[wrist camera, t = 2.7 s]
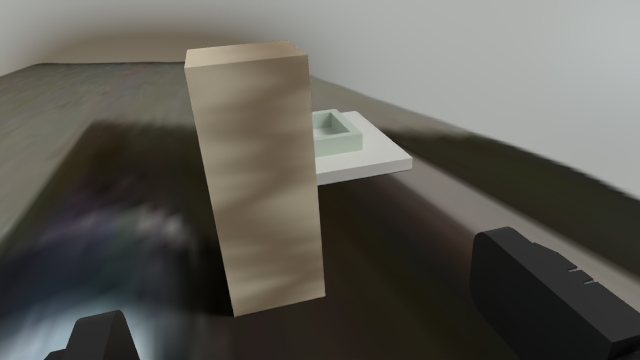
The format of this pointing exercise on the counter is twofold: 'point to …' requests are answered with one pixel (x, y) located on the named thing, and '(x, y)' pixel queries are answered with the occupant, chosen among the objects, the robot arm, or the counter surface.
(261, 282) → the beige square block
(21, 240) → the counter surface
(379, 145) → the base plate
